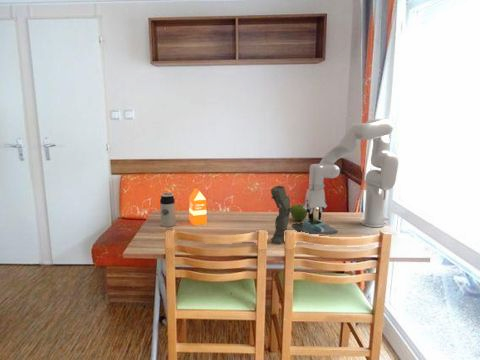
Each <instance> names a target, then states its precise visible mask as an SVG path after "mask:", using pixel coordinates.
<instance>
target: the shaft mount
mask: <svg viewBox="0 0 480 360" xmlns="http://www.w3.org/2000/svg"><path fill="white" fill-rule="evenodd" d="M291 227H292V228H294V229H295V230H297V231H298V232H300V231H302V232H305V233H309V234H327V235H335V234H338V232H339V230H337V229H336V228H334V227H332V226H330V225H329V224H326V223H325V222H323V221H321V220H319V223H318V224H311V223H310V220H309V219H304V220H302V222H297V223H295V222H294V223H291Z"/></svg>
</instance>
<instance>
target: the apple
mask: <svg viewBox="0 0 480 360" xmlns="http://www.w3.org/2000/svg"><path fill="white" fill-rule="evenodd" d="M304 205H305V204H297V203H296V204H293V205H290V208H291V209H290V214H291V217H292V219H294V220H295V221H296V222H303V220H306V218H307V217H308V212H307V211H306V210H305V209H303V207H304Z"/></svg>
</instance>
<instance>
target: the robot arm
mask: <svg viewBox="0 0 480 360" xmlns="http://www.w3.org/2000/svg"><path fill="white" fill-rule="evenodd" d="M393 128H394V124H393V122H392V121H391V120H389V119H387V118H385V119H384V118H371V119H368V120H366V122H365V123H364V122H355V123H353V124H352V125H351V126H350V127H349V128H348V130H347V131H346V132H345V134H344V135H343V137H342V138H341V139H340V141H339V142H338V144H336V146H334V147H333V148H331V149H330V150H329V151H328V152H326V153H325V155H324V156H323V157H322V159H321V160H320V162H319V163H312V164H310V166H309V178H308V179H309V180H308V189H306V193H305V201H304V204H303V205H304V207H303V209H305V210H306V211H307V212H308V213H307V220H310V221H312V220H313V214H312V210H313V208H319V220H320V221H321V220H322V213H323V212H324V210H325V209H326V208H327V207H328V205H327V203H326V195H325V194H326V193H325V188H324V187H326V185H325V184H324V182H325V181H324V180H325V179H334V178H337V177H338V176H339V175H340V173H341V169H340V167H339V166H338V165H337V164H335V163H336V162H337V161H338V160H339V159H341V158H343V157H346V156H349V155H351V154H352V153H353V152H354V150H355V149H356V147H357V146H358V144H359V143H360V142H361V141H362V140H363V141H368V140H372V150H371V156H370V163H371V165H372V167H375V168H377V169H370V170H369V171H368V172H367V173H366V175H365V178H364V181H365V189H366V190H365V192H366V193H365V202H364V214H363V215H364V217H363V218H364V219H362V220H360V223H361V225H363V226H365V227H369V228H382V227H384V226H385V221H389V219H390V218H389V217H388V216H383V210H384V209H383V208H384V197H385V193H384V191H390V190H391V189H392V188H393V187H394V186H395V184H396V180H397V174H398V170H399V169H398V168H399V158H398V156H397V155H396V153H393V152H390V143H391V142H390V141H391V140H390V136H389V135H390V134H391V133H392V131H393ZM379 169H380V170H379Z"/></svg>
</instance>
